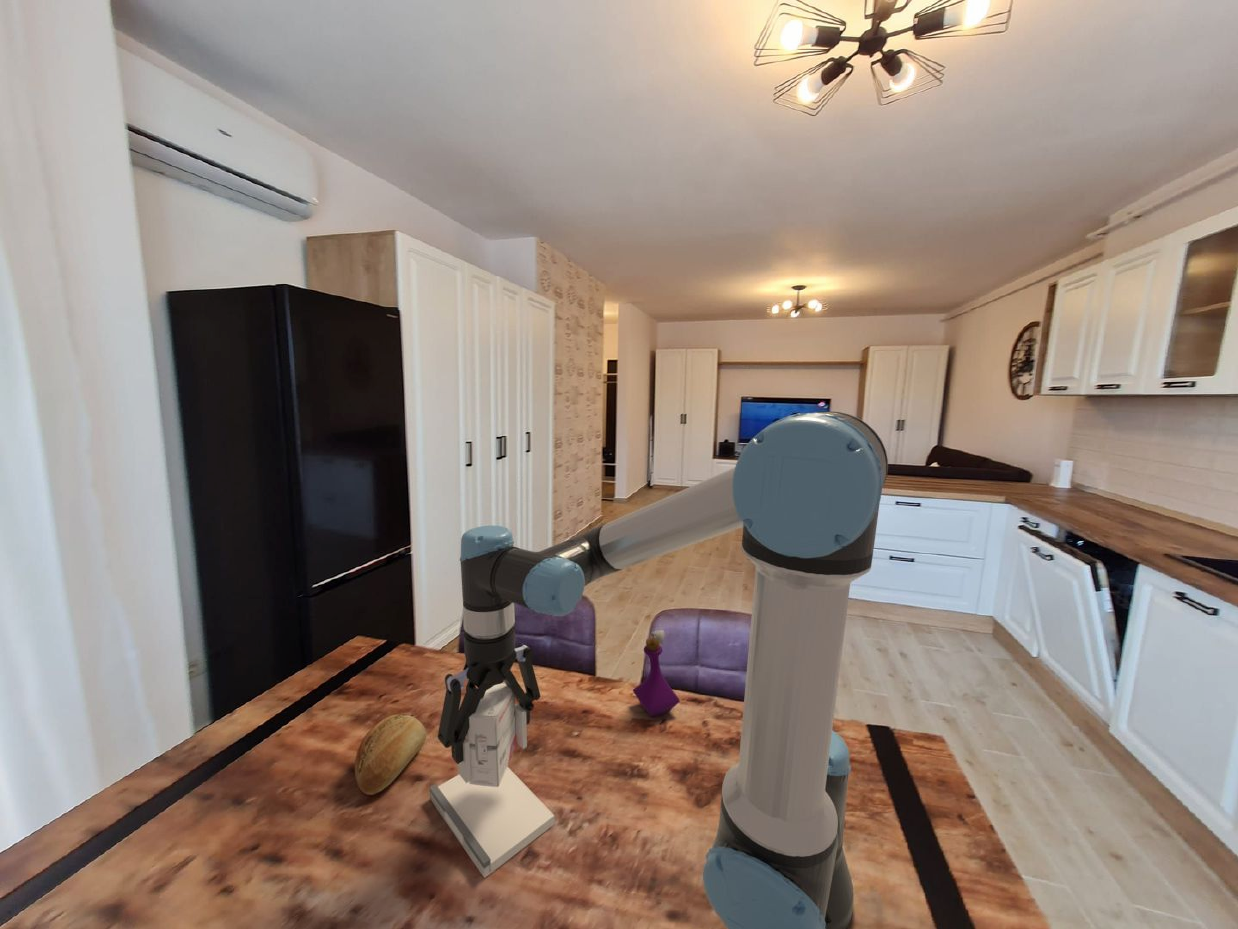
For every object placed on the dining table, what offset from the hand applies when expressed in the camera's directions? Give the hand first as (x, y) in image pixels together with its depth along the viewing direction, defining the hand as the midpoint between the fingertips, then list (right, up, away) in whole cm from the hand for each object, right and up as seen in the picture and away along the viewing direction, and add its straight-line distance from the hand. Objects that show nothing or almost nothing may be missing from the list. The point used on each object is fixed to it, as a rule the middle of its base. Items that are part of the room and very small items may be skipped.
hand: (493, 759), depth 75 cm
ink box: (0, -1, 0) cm, 1 cm away
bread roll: (-21, -8, +10) cm, 24 cm away
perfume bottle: (+28, -5, +25) cm, 38 cm away
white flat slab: (-1, -9, 0) cm, 9 cm away
